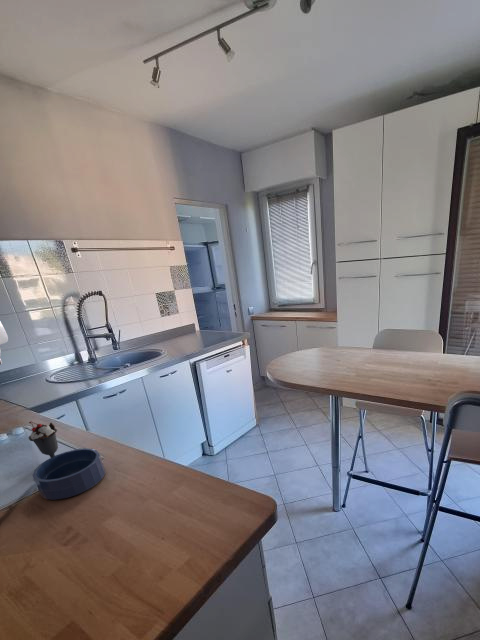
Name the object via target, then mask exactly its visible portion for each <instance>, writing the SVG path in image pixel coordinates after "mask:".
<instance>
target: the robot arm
mask: <svg viewBox="0 0 480 640" xmlns="http://www.w3.org/2000/svg"><path fill="white" fill-rule="evenodd" d="M8 342H9V336H8V333H7V331H6V328H5V327H4V325H3V323H2V321H1V320H0V346H2V345H4V344H7V343H8ZM1 353H2V348H0V366H1V365H3V360H2V359H1V356H2V355H1Z"/></svg>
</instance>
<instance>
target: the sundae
mask: <svg viewBox="0 0 480 640" xmlns="http://www.w3.org/2000/svg"><path fill="white" fill-rule="evenodd" d="M28 424H31V425H32V428H31V433H30V435H29V436H28V440H29V441H30V442H33V443H34V444H35V446H36V447H37V448H38V450H39V452H41V454H42V455H46V456H49V459H50V458H52V457H54V456H56V455H55V454H56V452H57V451H58V449H59V444H58V439H57V434H56V433H57V431H58V429H57V428H56V426H55V424H54V423H53V422H50V423H48V424H44V423H36V422H33V421H32V420H30V421H29V422H28ZM33 424H35V425H36V426H34V425H33Z"/></svg>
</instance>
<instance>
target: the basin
mask: <svg viewBox="0 0 480 640" xmlns="http://www.w3.org/2000/svg"><path fill="white" fill-rule="evenodd" d="M105 475H106V468H105V465H104V462H103V459H102V456H101V454H100V452H99V451H98V450H97V449H95V448H90V447H89V448H86V447H85V448H76V449H71V450H68V451H64V452H61V453H59V454H56V455H55V456H54V457H52V458H50V457H49V458H48V459H46V460H45V461H43V462H41V463H40V464H39V465H38V466H37V467H36V468H35V469H34V470H33V471H32V474H31V477H32V479H33V481H34V483H35V485H36V487H37V489H38V491H39V494H40V495H41V497H42V498H43V499H46V500H53V501H55V500H63V499H67V498H71V497H74V496H78V495H80V494H82V493H84V492H86V491H88V490H90V489H91V488H93V487H94V486H96V485H97V484H98V483H100V481H102V480H103V478H104V477H105Z"/></svg>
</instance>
